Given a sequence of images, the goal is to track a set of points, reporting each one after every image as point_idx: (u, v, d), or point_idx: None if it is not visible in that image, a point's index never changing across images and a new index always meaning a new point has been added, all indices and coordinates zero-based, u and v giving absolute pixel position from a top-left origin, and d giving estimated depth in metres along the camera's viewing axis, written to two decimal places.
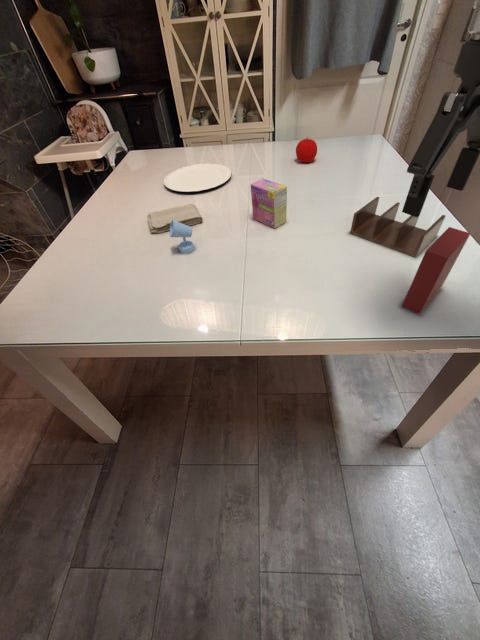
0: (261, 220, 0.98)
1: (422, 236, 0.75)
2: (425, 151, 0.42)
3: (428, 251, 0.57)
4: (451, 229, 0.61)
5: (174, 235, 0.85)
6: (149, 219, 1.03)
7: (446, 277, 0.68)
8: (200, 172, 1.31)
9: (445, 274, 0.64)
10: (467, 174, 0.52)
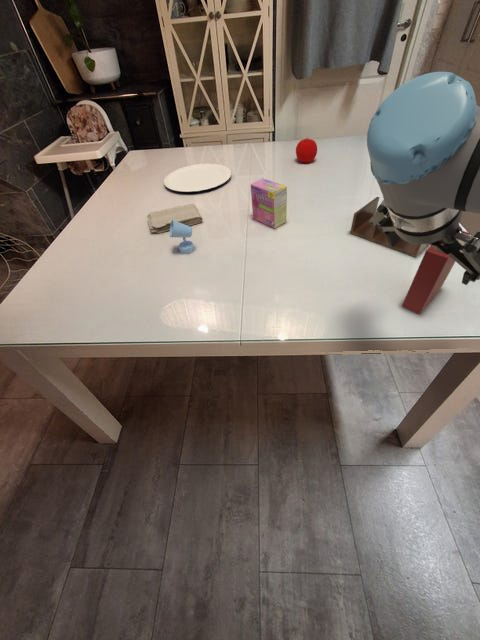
0: (261, 220, 0.98)
1: None
2: None
3: (428, 251, 0.57)
4: None
5: (174, 235, 0.85)
6: (149, 219, 1.03)
7: (446, 277, 0.68)
8: (200, 172, 1.31)
9: (445, 274, 0.64)
10: None
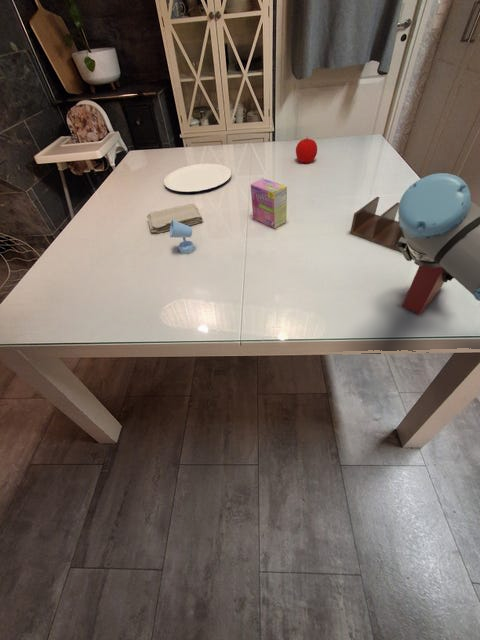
0: (261, 220, 0.98)
1: None
2: None
3: None
4: None
5: (174, 235, 0.85)
6: (149, 219, 1.03)
7: None
8: (200, 172, 1.31)
9: None
10: None
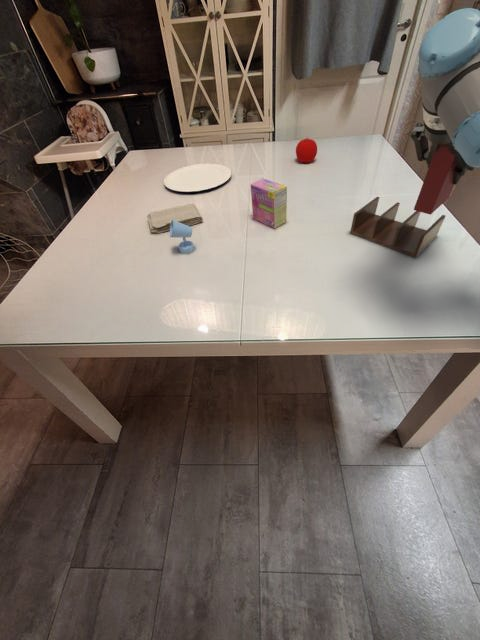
0: (261, 220, 0.98)
1: (422, 236, 0.75)
2: None
3: None
4: None
5: (174, 235, 0.85)
6: (149, 219, 1.03)
7: None
8: (200, 172, 1.31)
9: None
10: None
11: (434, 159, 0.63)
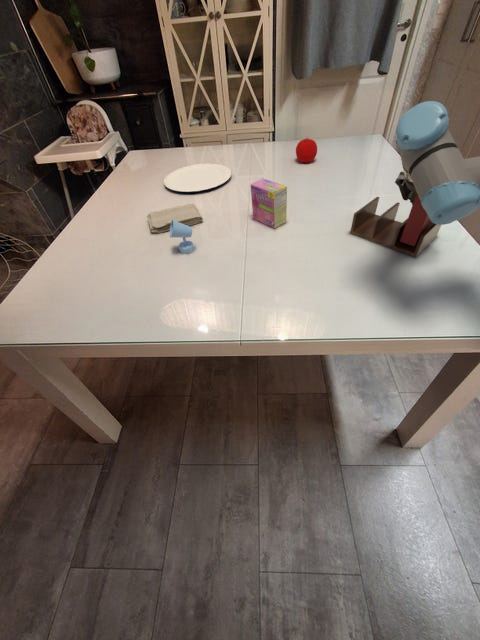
0: (261, 220, 0.98)
1: (422, 236, 0.75)
2: None
3: None
4: None
5: (174, 235, 0.85)
6: (149, 219, 1.03)
7: None
8: (200, 172, 1.31)
9: None
10: None
11: (416, 201, 0.72)
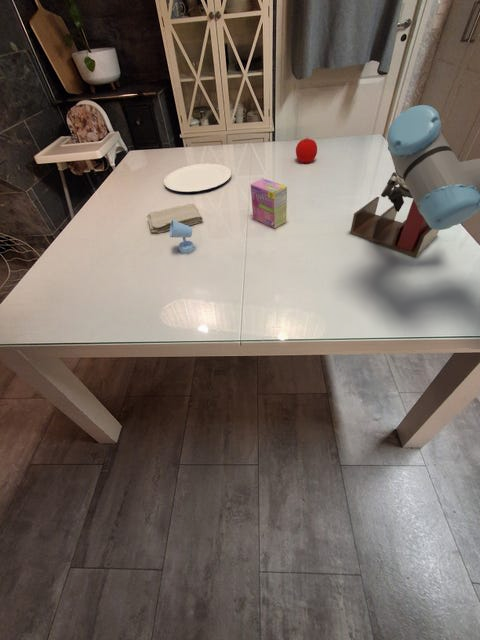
0: (261, 220, 0.98)
1: (422, 236, 0.75)
2: None
3: None
4: None
5: (174, 235, 0.85)
6: (149, 219, 1.03)
7: None
8: (200, 172, 1.31)
9: None
10: (402, 198, 0.78)
11: (412, 207, 0.73)
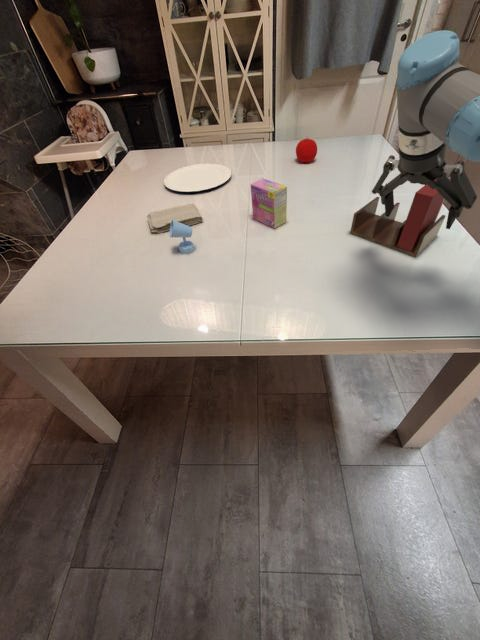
0: (261, 220, 0.98)
1: (422, 236, 0.75)
2: (469, 192, 0.57)
3: (417, 193, 0.71)
4: None
5: (174, 235, 0.85)
6: (149, 219, 1.03)
7: (434, 222, 0.82)
8: (200, 172, 1.31)
9: (432, 217, 0.78)
10: (393, 200, 0.72)
11: (412, 207, 0.73)
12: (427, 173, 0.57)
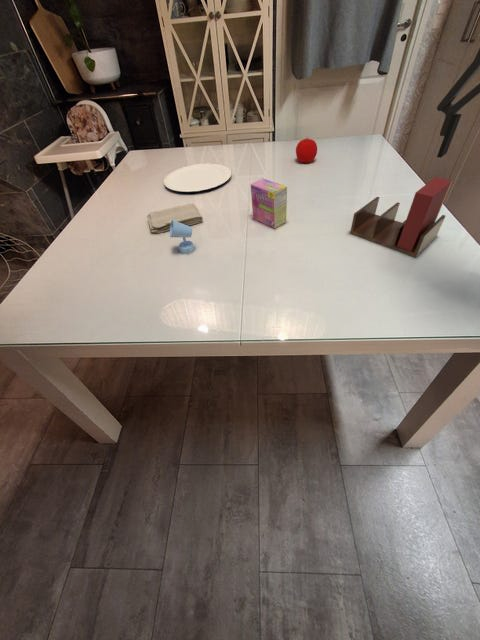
0: (261, 220, 0.98)
1: (422, 236, 0.75)
2: None
3: (417, 193, 0.71)
4: (437, 178, 0.75)
5: (174, 235, 0.85)
6: (149, 219, 1.03)
7: (434, 222, 0.82)
8: (200, 172, 1.31)
9: (432, 217, 0.78)
10: (452, 137, 0.56)
11: (412, 207, 0.73)
12: None
